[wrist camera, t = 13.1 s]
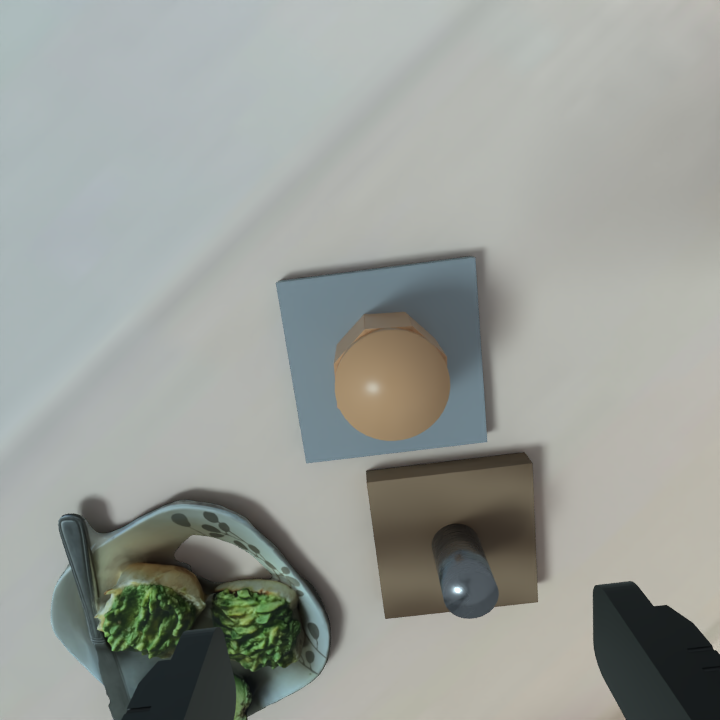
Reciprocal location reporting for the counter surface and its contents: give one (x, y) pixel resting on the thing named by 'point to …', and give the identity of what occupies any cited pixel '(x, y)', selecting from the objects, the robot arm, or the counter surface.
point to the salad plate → (185, 605)
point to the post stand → (455, 535)
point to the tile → (371, 296)
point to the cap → (390, 377)
